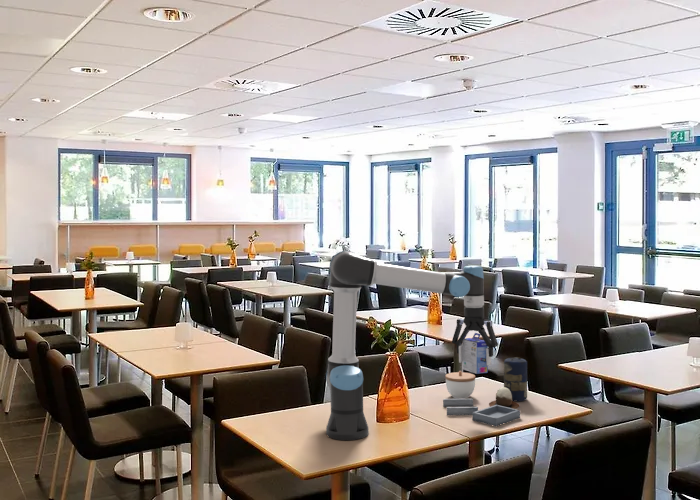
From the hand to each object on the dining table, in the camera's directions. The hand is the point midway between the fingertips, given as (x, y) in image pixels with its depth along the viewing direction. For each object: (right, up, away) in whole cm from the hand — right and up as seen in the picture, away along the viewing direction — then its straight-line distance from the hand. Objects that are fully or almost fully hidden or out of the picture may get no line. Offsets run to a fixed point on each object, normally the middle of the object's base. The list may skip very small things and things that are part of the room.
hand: (474, 363), depth 267 cm
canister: (+21, -19, +23) cm, 37 cm away
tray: (+7, -21, -3) cm, 22 cm away
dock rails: (-4, -20, +9) cm, 22 cm away
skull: (+15, -20, +15) cm, 29 cm away
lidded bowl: (-1, -19, +30) cm, 36 cm away
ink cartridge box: (0, -3, 0) cm, 3 cm away
